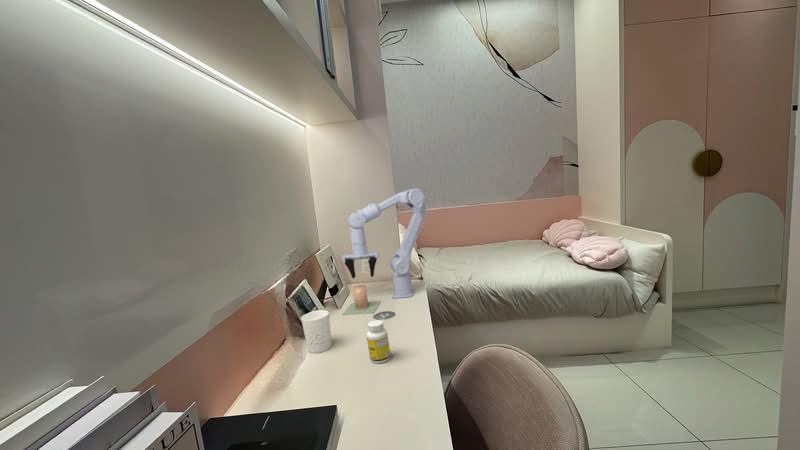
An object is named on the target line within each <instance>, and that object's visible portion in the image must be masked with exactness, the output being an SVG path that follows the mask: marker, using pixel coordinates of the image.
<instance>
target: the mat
mask: <svg viewBox="0 0 800 450" xmlns="http://www.w3.org/2000/svg"><path fill="white" fill-rule="evenodd" d="M380 304H381V300H378V301H368V305H369V307H368V308H367V309H364V310H356V309H355V302H352V303H350V304H349V306H348V307H347V308H346V309H345V311H343V312H342V316H350V315H363V314H364V315H366V314H374V313H375V312H376V310H377V309H378V307H379V306H380Z"/></svg>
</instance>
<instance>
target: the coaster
mask: <svg viewBox="0 0 800 450" xmlns="http://www.w3.org/2000/svg"><path fill="white" fill-rule="evenodd" d="M395 316H396V312H395V311H391V310H388V311H387V310H386V311H380V312H377V313H375V314H373V315H372V318H373V319H374V320H381V321H386V320H390V319H392V318H393V317H395Z"/></svg>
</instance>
